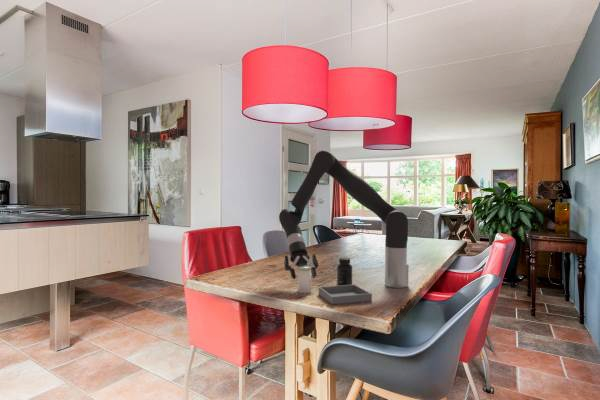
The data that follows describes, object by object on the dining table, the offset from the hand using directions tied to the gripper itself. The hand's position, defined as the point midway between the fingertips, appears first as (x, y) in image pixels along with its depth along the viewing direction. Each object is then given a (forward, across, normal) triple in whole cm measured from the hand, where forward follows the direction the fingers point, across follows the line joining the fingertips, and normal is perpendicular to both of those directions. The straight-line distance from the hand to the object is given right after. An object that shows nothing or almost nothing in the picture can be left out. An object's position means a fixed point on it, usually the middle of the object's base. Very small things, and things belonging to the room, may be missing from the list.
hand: (304, 277), depth 142 cm
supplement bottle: (+1, +20, +7) cm, 21 cm away
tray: (+13, +12, -5) cm, 19 cm away
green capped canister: (+4, 0, +4) cm, 6 cm away
